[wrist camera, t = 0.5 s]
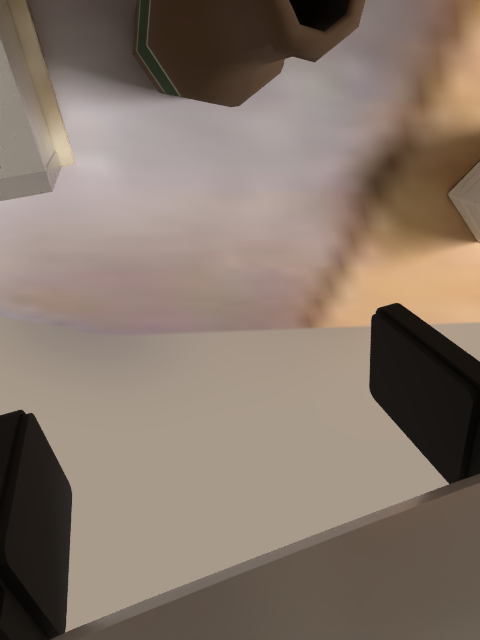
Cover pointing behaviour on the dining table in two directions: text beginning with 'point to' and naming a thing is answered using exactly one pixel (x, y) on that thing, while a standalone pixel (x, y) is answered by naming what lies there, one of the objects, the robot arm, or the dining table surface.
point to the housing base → (41, 79)
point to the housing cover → (21, 123)
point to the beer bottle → (233, 42)
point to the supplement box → (469, 200)
